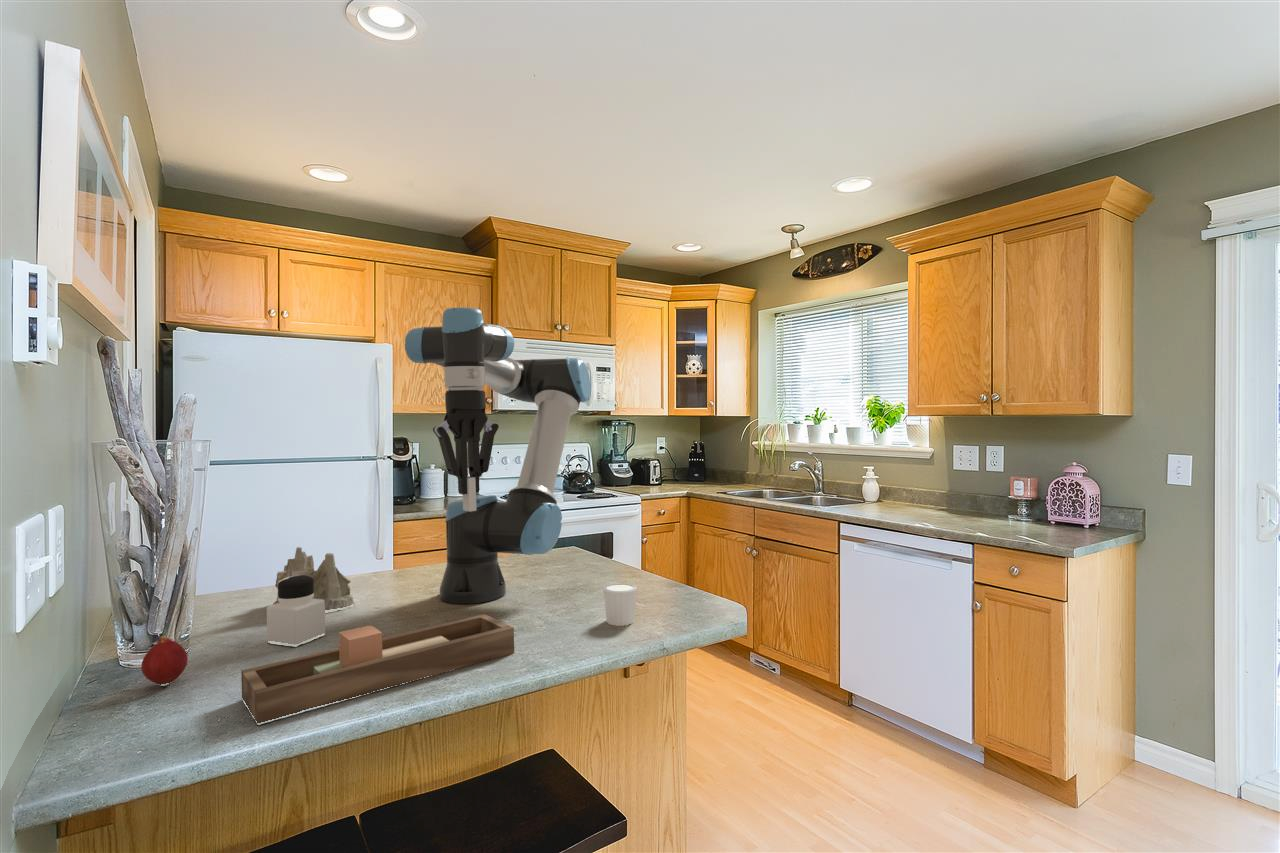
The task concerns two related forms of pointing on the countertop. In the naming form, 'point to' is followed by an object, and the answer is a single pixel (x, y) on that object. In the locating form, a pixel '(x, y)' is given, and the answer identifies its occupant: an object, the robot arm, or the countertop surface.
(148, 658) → the onion
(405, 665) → the brown wooden long tray
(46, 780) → the countertop surface
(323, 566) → the rock mountain model
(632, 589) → the white cup
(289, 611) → the medicine bottle
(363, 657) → the block
